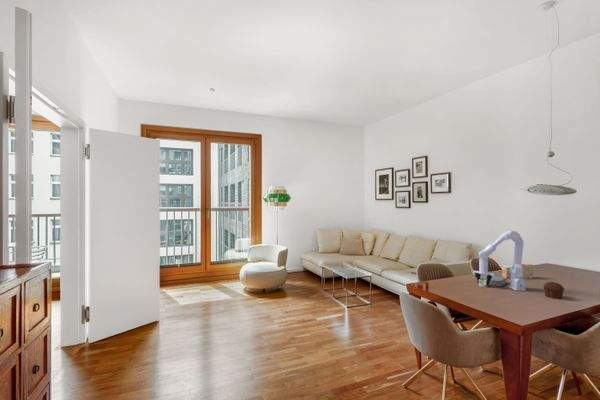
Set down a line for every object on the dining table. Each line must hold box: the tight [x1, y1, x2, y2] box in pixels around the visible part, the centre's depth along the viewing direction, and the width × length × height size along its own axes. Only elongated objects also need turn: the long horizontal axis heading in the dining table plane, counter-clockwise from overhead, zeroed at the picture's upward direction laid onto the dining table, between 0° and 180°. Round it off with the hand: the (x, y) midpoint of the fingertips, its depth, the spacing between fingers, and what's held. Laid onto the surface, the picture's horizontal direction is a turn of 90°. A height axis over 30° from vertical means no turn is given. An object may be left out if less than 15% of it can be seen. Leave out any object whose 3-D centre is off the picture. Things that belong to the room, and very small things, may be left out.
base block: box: [476, 274, 508, 287], centre depth 246 cm, size 16×16×4 cm
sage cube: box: [478, 279, 489, 288], centre depth 236 cm, size 5×5×5 cm
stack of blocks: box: [501, 262, 534, 280], centre depth 261 cm, size 21×6×12 cm, turn 85°
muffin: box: [543, 281, 565, 300], centre depth 209 cm, size 12×11×10 cm
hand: (483, 284), depth 236 cm, fingers open, 6 cm apart
